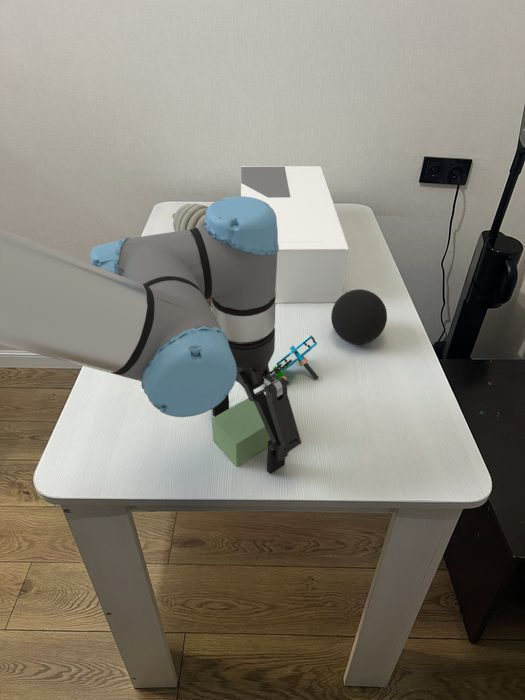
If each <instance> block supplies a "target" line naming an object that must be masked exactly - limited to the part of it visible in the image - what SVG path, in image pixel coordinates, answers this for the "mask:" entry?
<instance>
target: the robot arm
mask: <svg viewBox="0 0 525 700" xmlns="http://www.w3.org/2000/svg"><path fill="white" fill-rule="evenodd" d="M207 207H208V209H207V210H206V215H205V220H204V226H202V227H195V228H194V229H190V230H183V231H176V232H175V231H170V232H164V233H157V234H156V233H155V234H150V235H143V236H137V237H124V238H122V239H120V240H115V241H112V242H111V241H110V242H106V243H103V244H98V245H96V246H94V247H93V248H92V250H91V251H90V254H89V259H90V262H87V261H85V260H82V259H79V258H77V257H74V256H72V255H70V254H67V253H64V252H62V251H59V250H56V249H54V248H52V247H49V246H47V245H44V244H42V243H40V242H37V241H34V240H31V239H30V238H26V237H24V236H21V235H19V234H16V233H14V232H11V231H8V230H6V229H4V228H1V227H0V345H1V346H4V347H8V348H12V349H16V350H20V351H23V352H27V353H31V354H34V355H40V356H43V357H46V358H51V359H55V360H58V361H63V362H66V363H70V364H74V365H77V366H81V367H84V368H85V367H86V368H90V369H94V370H97V371H100V372H105V373H109V374H113V375H116V376H120V377H123V378H127V379H130V380H135V381H138V382H140V383H141V389H142V390H143V392H144V394H145V395H146V397H147V399H148V401H149V402H150V403H151V405H152V406H153V407H154V408H156V409H157V410H158V411H160V412H161V414H164V415H166V416H170V417H175V418H188V417H194V416H199V415H202V414H205V413H207V412H209V411H211V413H212V417H213V418H214V417H215V416H217V415H219V414H221V413H223V412H224V411H226V410H228V409H230V396H229V394H230V392H231V391H232V389H233V387H234V386H235V383H238V384H239V385H240V386H241V387H242V388H243V389H244V392H245V394H246V396H247V398H249V400H250V401H253V402H254V403H255V405H256V408H257V410H258V412H259V414H260V417H261V419H262V421H263V423H264V425H265V428H266V430H267V432H268V434H269V437H270V439H271V440H269V441H268V444H267V448H266V449H267V450H266V452H267V453H266V458H267V459H266V472H267V473H268V474H269V475H272V474H273V473H275V472H276V471H278V470H279V469H281V468H282V467H284V466H285V465H286V458H287V457H288V456H289V452H291V451H293V450H294V449H295V448H297V447H298V446H299V445H301V444H302V439H301V436H300V433H299V429H298V425H297V422H296V419H295V415H294V412H293V408H292V405H291V402H290V401H291V400H290V398H289V395H288V385H287V382H286V380H285V379H284V378H278V379H277V378H275V377H274V376H273V377H272V376H271V375H272V374H271V373H270V372H271V370H270V366H269V363H270V362H271V360H272V357H273V356H274V353H275V349H276V348H275V347H276V327H275V326H276V303H275V298H276V291H275V290H276V270H277V252H278V250H279V245H278V228H277V218H276V214H275V212H274V210H273V209H272V208H271V207H270V206H269V205H268V204H267V203H266V202H264V201H262V200H259V199H256V198H252V197H244V196H241V195H239V196H237V195H236V196H228V197H224V198H222V199H221V200H217V201H213V202H212V203H211V204H210V205H209V206H207ZM210 297H212V305H211V309H210V307H209V305H208V303H207V301H206V299H210ZM262 386H264V387H263V388H262V389H261V390H259V391H257V392H255V391H254V390H256V389H259V388H260V387H262Z"/></svg>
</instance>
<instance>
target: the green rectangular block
mask: <svg viewBox="0 0 525 700" xmlns="http://www.w3.org/2000/svg"><path fill="white" fill-rule="evenodd" d="M211 426H212V427H211V429H212V441H213V442H214V443H215V445H216V446H217V447H218V448H219V449H220V450H221V452H223V453H224V454H225V455H226V456H227V458H228V459H229V460H230V461H231V462H232V463H233V464H234V465H235V466H236V467H239V466H240V465H242V464H244V463H245V462H247V461H248V460H249V459H252V458H253V457H254V456H256V455H257V454H259V453H261V452H262V451H263V450H265V449H267V444H268V441H269V440H271V439H270V437H269V434H268V432H267V430H266V428H265V425H264V423H263V421H262V419H261V417H260V414H259V412H258V410H257V408H256V405H255V403H254V402H253V401H250V400H249V398H248V397H247V398H245V399H244V400H242V401H240V402H239V403H237V404H235V405H233V406H232V407H229V409H228V410H226V411H224V412H223V413H221V414H219V415H217V416H215V417H214V416H213V417H212V418H211Z"/></svg>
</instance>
